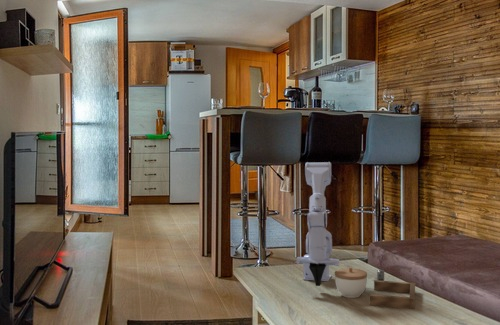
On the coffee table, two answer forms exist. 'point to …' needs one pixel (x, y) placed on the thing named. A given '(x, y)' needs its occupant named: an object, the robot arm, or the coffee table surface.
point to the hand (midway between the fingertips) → (318, 285)
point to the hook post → (380, 275)
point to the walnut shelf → (394, 300)
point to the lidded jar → (350, 282)
